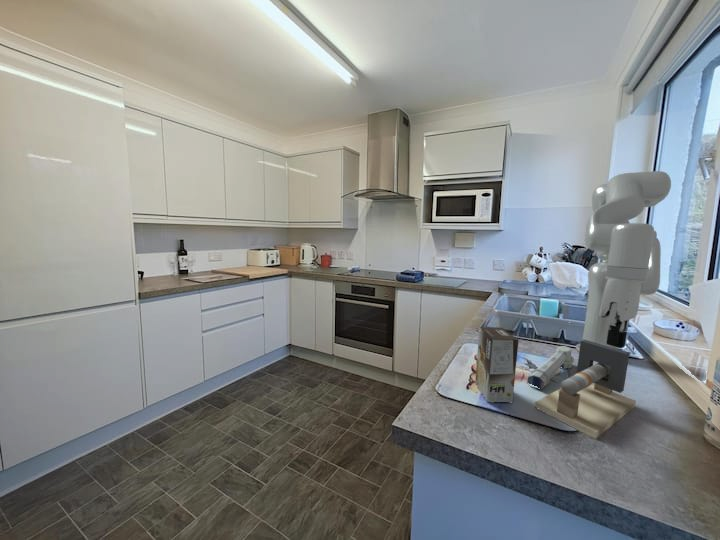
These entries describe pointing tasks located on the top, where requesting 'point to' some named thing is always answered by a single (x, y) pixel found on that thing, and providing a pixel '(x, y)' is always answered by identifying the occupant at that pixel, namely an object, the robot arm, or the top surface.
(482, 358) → the coffee box
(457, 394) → the top surface
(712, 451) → the top surface
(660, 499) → the top surface
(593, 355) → the collar
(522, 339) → the top surface
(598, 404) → the pipe rig
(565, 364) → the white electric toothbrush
